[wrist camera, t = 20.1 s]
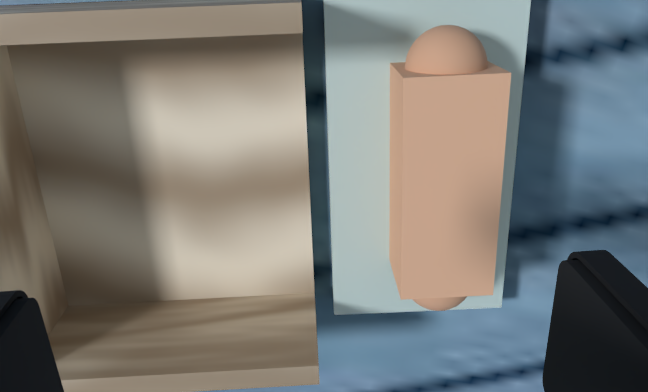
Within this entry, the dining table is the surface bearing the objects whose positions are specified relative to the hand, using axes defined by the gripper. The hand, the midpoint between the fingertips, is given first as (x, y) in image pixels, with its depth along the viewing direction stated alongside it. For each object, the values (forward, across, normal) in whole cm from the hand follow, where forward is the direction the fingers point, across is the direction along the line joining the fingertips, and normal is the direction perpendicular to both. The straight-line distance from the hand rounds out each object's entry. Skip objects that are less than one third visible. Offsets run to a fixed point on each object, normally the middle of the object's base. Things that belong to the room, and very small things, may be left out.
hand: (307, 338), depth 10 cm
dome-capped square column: (+17, -7, +3) cm, 18 cm away
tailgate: (+18, -2, +3) cm, 18 cm away
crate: (+19, +6, +3) cm, 20 cm away
